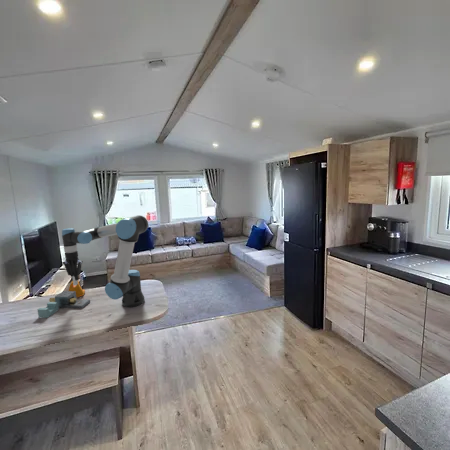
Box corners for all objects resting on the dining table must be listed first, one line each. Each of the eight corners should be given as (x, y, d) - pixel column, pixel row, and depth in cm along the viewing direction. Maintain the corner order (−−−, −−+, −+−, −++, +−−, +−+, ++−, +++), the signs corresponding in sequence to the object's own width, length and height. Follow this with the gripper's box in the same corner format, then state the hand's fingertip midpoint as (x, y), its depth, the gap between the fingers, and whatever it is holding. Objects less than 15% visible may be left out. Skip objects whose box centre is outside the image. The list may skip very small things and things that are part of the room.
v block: (58, 309, 181) (57, 302, 180) (47, 317, 171) (46, 309, 170) (50, 309, 181) (49, 302, 180) (38, 317, 171) (37, 309, 170)
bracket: (85, 292, 207) (83, 277, 205) (83, 296, 201) (81, 281, 198) (69, 294, 204) (67, 279, 202) (67, 298, 197) (65, 283, 195)
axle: (76, 301, 188) (75, 297, 187) (74, 303, 185) (73, 299, 184) (52, 300, 190) (51, 296, 189) (49, 302, 187) (48, 299, 186)
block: (90, 302, 191) (88, 291, 189) (82, 308, 182) (80, 297, 181) (65, 301, 193) (63, 291, 191) (56, 307, 184) (54, 296, 182)
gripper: (83, 249, 183) (88, 282, 187) (65, 249, 184) (70, 282, 188) (76, 252, 176) (81, 287, 180) (58, 253, 177) (63, 286, 181)
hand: (75, 284), depth 184 cm, fingers closed
